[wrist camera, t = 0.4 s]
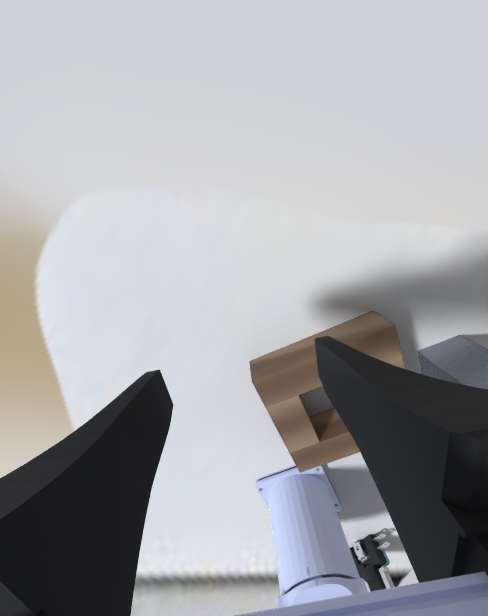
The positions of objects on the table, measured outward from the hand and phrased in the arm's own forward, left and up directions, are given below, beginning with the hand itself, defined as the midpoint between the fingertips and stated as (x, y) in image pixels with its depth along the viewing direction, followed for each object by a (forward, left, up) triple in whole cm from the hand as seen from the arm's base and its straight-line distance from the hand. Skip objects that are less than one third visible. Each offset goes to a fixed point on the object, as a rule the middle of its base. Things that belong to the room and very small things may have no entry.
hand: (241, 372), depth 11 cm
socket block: (-12, -5, -10) cm, 16 cm away
